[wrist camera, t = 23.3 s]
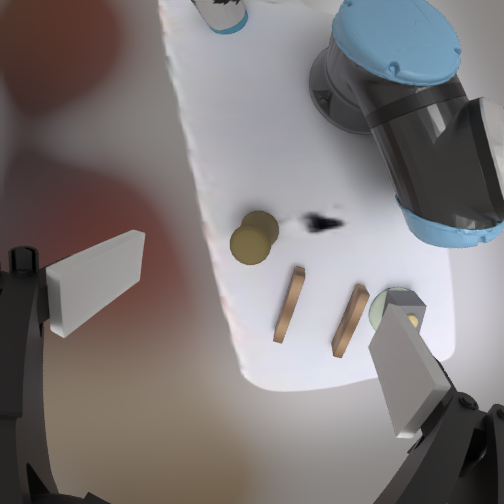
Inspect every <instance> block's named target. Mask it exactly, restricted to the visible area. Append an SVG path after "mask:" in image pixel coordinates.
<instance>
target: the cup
mask: <svg viewBox="0 0 504 504" xmlns="http://www.w3.org/2000/svg"><path fill="white" fill-rule="evenodd" d="M191 1H192V2H193V4H194V5H195V7H196V8H197V9H198V11H199V12H200V14H201V15H202V16H203V18H204V19H205V21H206V22H207V24H208V25H209V27H210V28H211V29H212V30H213V31H214V32H216V33H219V34H231V33H234V32H237V31H238V30H240V29H241V28H242V27H244V26H245V24H246V22H247V19H248V15H247V12H246V9H245V6H244V4H243V1H242V0H191Z"/></svg>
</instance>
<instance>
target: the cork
mask: <svg viewBox="0 0 504 504" xmlns="http://www.w3.org/2000/svg"><path fill="white" fill-rule="evenodd" d="M278 234H279V226H278V224H277V221H276V220H275V218H274V217H273V216H272V215H270V214H269V213H267V212H264V211H255V212H252V213H250V214H248V215H247V216H246V217H245V218H244V219H243V221H242V224H241V226H240V227H239V228H237V229H236V230H235V231H234V233H233V234H232V236H231V239H230V250H231V252H232V255H233V256H234V257H235V259H236V260H238V261H239V262H241V263H243V264H246V265H255V264H258V263H260V262H262V261H263V260H265V259H266V257H267V256H268V255H269V252H270V249H271V245H272V244H274V242H275V241H276V240H277V237H278Z"/></svg>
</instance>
